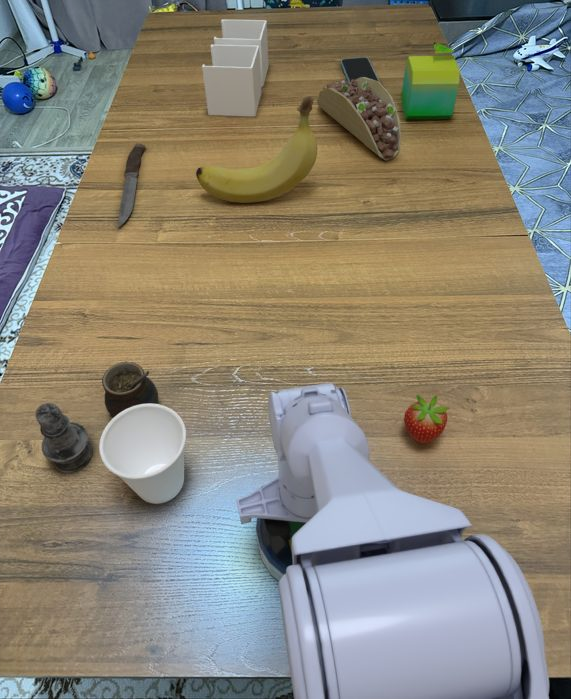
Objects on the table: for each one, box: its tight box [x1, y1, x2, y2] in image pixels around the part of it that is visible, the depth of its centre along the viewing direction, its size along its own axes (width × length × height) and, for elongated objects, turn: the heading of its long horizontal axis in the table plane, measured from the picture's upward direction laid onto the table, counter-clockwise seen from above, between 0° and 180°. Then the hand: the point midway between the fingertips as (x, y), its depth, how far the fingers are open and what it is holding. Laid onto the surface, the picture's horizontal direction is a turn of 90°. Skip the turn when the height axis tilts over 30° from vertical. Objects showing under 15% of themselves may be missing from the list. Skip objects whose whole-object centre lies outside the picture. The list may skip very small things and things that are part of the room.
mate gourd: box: [101, 360, 159, 419], centre depth 78 cm, size 7×8×10 cm
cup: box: [98, 403, 187, 505], centre depth 70 cm, size 10×10×11 cm
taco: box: [316, 77, 402, 161], centre depth 123 cm, size 10×27×10 cm, turn 29°
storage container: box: [201, 18, 270, 117], centre depth 136 cm, size 25×11×11 cm, turn 174°
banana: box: [195, 95, 318, 204], centre depth 105 cm, size 23×6×20 cm, turn 93°
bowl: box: [255, 518, 293, 582], centre depth 68 cm, size 13×13×4 cm
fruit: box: [403, 394, 450, 444], centre depth 75 cm, size 5×5×8 cm
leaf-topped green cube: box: [401, 41, 460, 121], centre depth 126 cm, size 11×10×15 cm
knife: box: [117, 142, 146, 228], centre depth 115 cm, size 28×3×1 cm, turn 4°
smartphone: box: [340, 56, 380, 82], centre depth 143 cm, size 7×1×15 cm
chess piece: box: [34, 402, 94, 474], centre depth 73 cm, size 6×6×12 cm
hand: (306, 526), depth 66 cm, fingers closed on sponge, 4 cm apart
